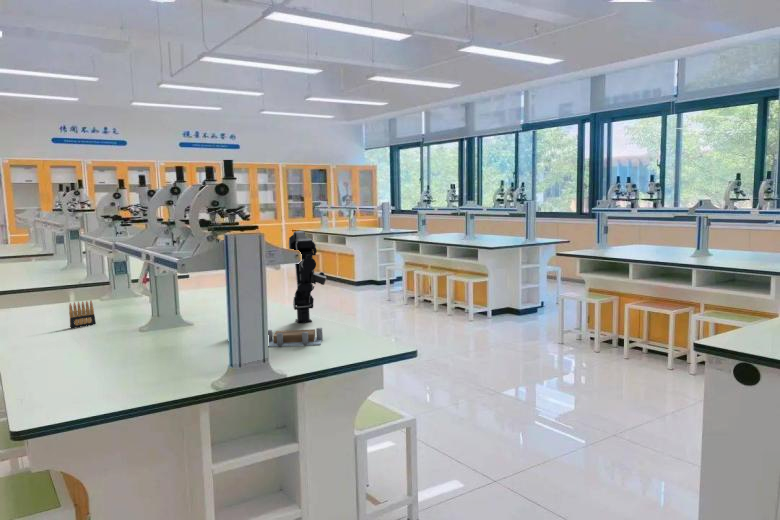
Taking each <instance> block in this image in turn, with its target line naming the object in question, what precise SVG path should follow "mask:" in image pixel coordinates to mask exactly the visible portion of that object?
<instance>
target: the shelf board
mask: <svg viewBox="0 0 780 520" xmlns="http://www.w3.org/2000/svg"><path fill="white" fill-rule="evenodd" d="M302 332H308V342H314V339H315V337H316V328H314V329H293V330H292V329H291V330H290V329H289V330H276V331H275V332H274V334H273V335H272V339H274V343H277V333H283V343H291V342H302Z"/></svg>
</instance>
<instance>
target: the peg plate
mask: <svg viewBox="0 0 780 520" xmlns="http://www.w3.org/2000/svg"><path fill="white" fill-rule="evenodd" d="M267 330H268V335H269V347H268V348H276V347H278V348H279V347H280V348H281V347H303V346H304V347H306V346H321V344H322V341H323V340H324V339H323V335H324V334H323V328H322V327H316V328H315V334H316V336H315V339H314V342H308V332H302V342H291V343H283V333H277V343H274V339H273V330H272V329H267Z"/></svg>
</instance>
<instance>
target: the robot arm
mask: <svg viewBox="0 0 780 520" xmlns="http://www.w3.org/2000/svg"><path fill="white" fill-rule="evenodd" d="M288 249H289V250H290V249H294V250H299V251H300V252H301V254H302V261H301V262H300V263H299V264H295V263H294V265H295V276H296V287H297V289H296V290H295V293H294V297H293V302H292V303H293V304H292V305H293V307H292V308H293V309H294V311H296V316H297V317H296V318H295V322H297V323H298V324H302V323H311V322H312V321H313V320H312V319H311V318H310V317H311V316H310V309H313V308H314V300H315V299H314V297H313V295H312V291H314V289H315V287H316V283H317V284H320V285H321V286H322V285H323V286H325V283H326V280H327V275H325V272H323V271H320V272H319V273H315V269H316V267H317V262H316V260H315V259H314V258H313V256H316V255H317V251H318V250H317V246H316V243H315V241H313V239H312V238H310V237H309V238H308V237H307V235H306V232H305V231H304V230H298V231H295V230H294V231H293V234H291V236H290V237H289V238H288ZM314 285H315V286H314Z"/></svg>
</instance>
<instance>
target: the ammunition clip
mask: <svg viewBox="0 0 780 520" xmlns="http://www.w3.org/2000/svg"><path fill="white" fill-rule="evenodd" d="M68 308H69V309H68V311H69V314H68V315H69V327H71V328H70V329H75V328H74V327H77V328H81V327H80V326H84V327H87V326H86V325H90V326H94V325H93V324H96V323H97V322H96V316H95V311H94V310H95V309H94V304H93V301H92V300H90V301H89V302H88V300H86V301H85V303H84V301H83V300H82V302H81V304H80V302H79V301H78V302H77V304H76V302H73V304H72V303H70V302H69V305H68ZM96 325H97V324H96Z"/></svg>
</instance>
